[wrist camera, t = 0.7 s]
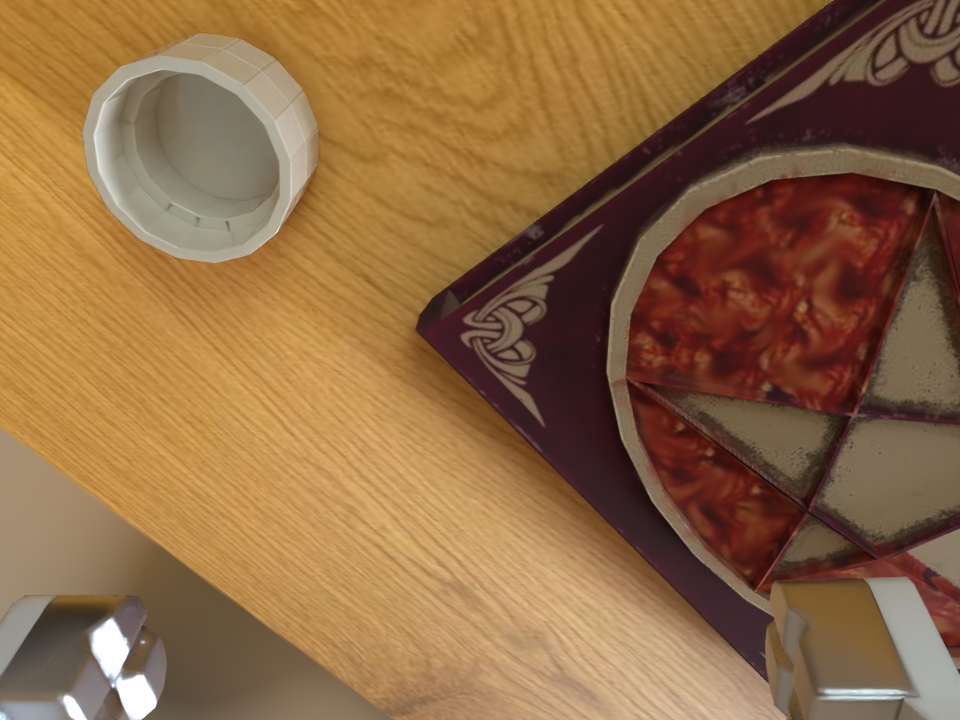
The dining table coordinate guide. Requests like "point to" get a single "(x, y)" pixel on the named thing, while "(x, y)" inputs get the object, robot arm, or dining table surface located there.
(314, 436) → the dining table surface
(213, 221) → the bowl
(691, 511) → the book
